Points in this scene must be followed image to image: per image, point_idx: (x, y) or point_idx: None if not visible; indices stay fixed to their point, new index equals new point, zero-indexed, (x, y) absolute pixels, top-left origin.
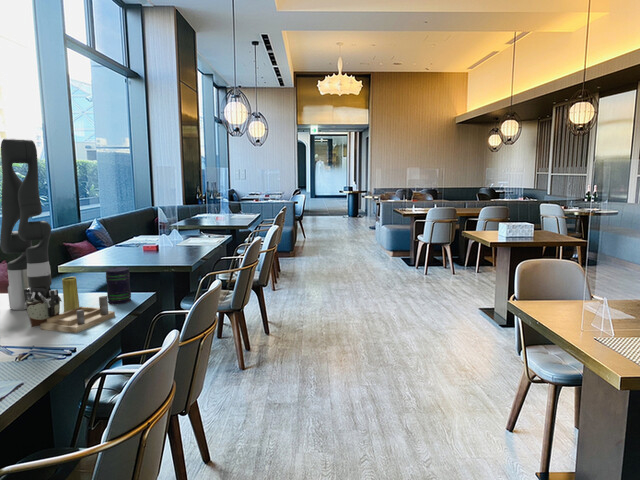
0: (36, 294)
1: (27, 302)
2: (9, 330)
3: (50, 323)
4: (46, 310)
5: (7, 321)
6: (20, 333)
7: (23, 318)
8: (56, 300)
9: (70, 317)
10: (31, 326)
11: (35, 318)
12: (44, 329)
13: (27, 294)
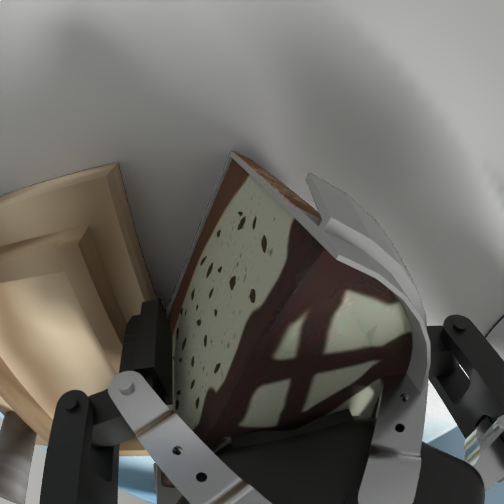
0: (356, 487)
1: (385, 306)
2: (349, 46)
3: (46, 226)
4: (191, 342)
5: (488, 195)
6: (181, 20)
7: (447, 262)
8: (98, 463)
9: (82, 360)
10: (232, 153)
11: (225, 214)
12: (84, 171)
13: (495, 409)
